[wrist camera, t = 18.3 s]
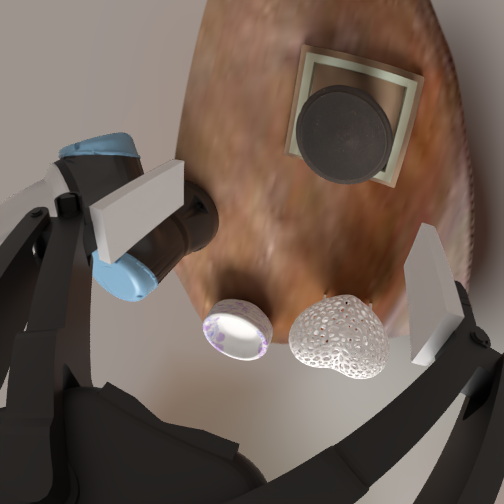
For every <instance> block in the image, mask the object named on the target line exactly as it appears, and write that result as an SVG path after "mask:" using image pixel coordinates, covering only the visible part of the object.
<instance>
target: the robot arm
mask: <svg viewBox="0 0 504 504" xmlns="http://www.w3.org/2000/svg"><path fill="white" fill-rule="evenodd" d="M59 158H60V160H58V161H56V162H54V163H52V164H50V166H49V168H48V170H47V173H46V175H45V177H44V178H43V179H42V180H40V181H38V182H36V183H34V184H33V185H31V186H29V187H27V188H25V189H24V190H22V191H20V192H18V193H16V194H15V195H13V196H11V197H9V198H8V199H6V200H4V201H3V202H1V203H0V389H1V387H2V385H3V383H4V380H5V377H6V375H7V372H8V370H9V367H10V370H9V379H8V388H7V400H6V407H3V408H0V504H354V503H355V502H356V501H358V500H359V499H360V498H361V497H362V496H364V495H365V494H366V493H367V492H368V491H369V487H370V486H371V485H372V484H373V483H374V482H376V481H377V480H378V479H379V478H380V477H382V476H383V475H384V474H385V473H386V472H387V471H388V470H389V469H391V467H393V466H394V465H395V464H396V463H397V462H398V461H399V460H400V459H401V458H402V457H403V456H404V455H405V454H406V453H407V452H408V451H409V450H410V449H411V448H412V447H413V446H414V445H415V444H416V443H417V442H418V441H419V440H420V439H421V438H422V437H423V436H424V435H425V434H426V433H427V432H428V431H429V429H430V428H431V427H432V426H433V425H434V424H435V423H436V421H437V420H438V419H439V418H440V417H441V416H442V414H443V413H444V412H445V411H446V410H447V408H448V407H449V406H450V405H451V403H452V402H453V401H454V400H455V398H456V397H457V396H458V394H459V393H460V392H461V393H463V394H465V395H466V397H465V400H464V403H463V405H462V408H461V410H460V413H459V415H458V418H457V420H456V423H455V425H454V428H453V430H452V432H451V435H450V437H449V439H448V441H447V443H446V445H445V447H444V449H443V451H442V454H441V455H440V457H439V459H438V461H437V463H436V465H435V467H434V469H433V471H432V472H431V474H430V476H429V478H428V480H427V481H426V483H425V485H424V486H423V488H422V490H421V492H420V493H419V495H418V496H417V498H416V500H415V501H414V503H413V504H494V502H495V500H496V497H497V495H498V492H499V490H500V487H501V484H502V481H503V478H504V353H503V354H500V353H499V352H497V351H495V350H494V349H492V348H490V346H491V343H490V339H489V337H488V336H487V334H486V333H485V332H484V330H482V329H481V328H480V327H478V326H476V322H475V319H474V316H473V312H472V308H471V307H470V306H471V305H470V302H469V300H468V295H467V292H466V290H465V289H464V287H463V286H462V284H461V283H460V282H458V281H455V280H454V279H453V276H452V273H451V270H450V267H449V264H448V261H447V258H446V255H445V252H444V249H443V247H442V244H441V241H440V239H439V236H438V234H437V231H436V229H435V227H434V226H431V225H428V224H425V223H422V224H421V226H420V229H419V231H418V234H417V236H416V239H415V241H414V243H413V246H412V248H411V250H410V253H409V255H408V257H407V259H406V262H405V264H404V273H405V281H406V290H407V300H408V311H409V325H410V342H411V362H412V363H415V364H419V365H424V366H428V365H429V364H430V362H431V361H432V360H433V359H434V357H435V362H434V363H433V364H432V365H431V366H430V367H429V368H428V369H427V370H426V371H425V372H424V373H423V374H421V375H420V376H419V377H418V378H417V379H416V380H415V381H414V382H413V383H412V384H411V385H410V386H409V387H408V388H407V389H405V390H404V391H403V392H402V393H401V394H400V395H399V396H398V397H396V398H395V399H394V400H393V401H392V402H391V403H389V404H388V405H387V406H386V407H385V408H383V409H382V410H381V411H380V412H379V413H377V414H376V415H375V416H374V417H372V418H371V419H370V420H369V421H367V422H366V423H365V424H363V425H362V426H361V427H359V428H358V429H357V430H355V431H354V432H353V433H352V434H350V435H349V436H347V437H346V438H344V439H343V440H342V441H340V442H339V443H337V444H335V445H334V446H330V447H329V448H327V449H325V450H324V451H322V452H320V453H319V454H317V455H316V456H314V457H312V458H311V459H309V460H308V461H306V462H304V463H303V464H301V465H299V466H297V467H296V468H294V469H293V470H291V471H289V472H287V473H285V474H283V475H282V476H280V477H278V478H276V479H274V480H272V481H270V482H268V483H267V481H266V479H265V478H264V476H263V474H262V473H261V472H260V470H259V469H258V468H257V467H256V466H255V465H254V464H253V463H252V462H251V461H250V460H249V459H247V458H246V457H245V456H244V455H242V454H241V453H239V452H238V448H239V444H238V443H235V442H232V441H230V440H227V439H224V438H221V437H219V436H217V435H214V434H211V433H209V432H207V431H204V430H200V429H194V428H189V427H184V426H179V425H174V424H169V423H165V422H163V421H161V420H160V419H159V418H157V417H156V416H155V415H154V414H152V412H150V411H149V410H148V409H147V408H146V407H145V406H144V405H143V404H142V403H141V402H139V401H138V400H137V399H136V398H135V397H133V396H131V395H130V394H128V393H126V392H124V391H123V390H121V389H119V388H117V387H116V386H114V385H112V384H111V383H109V382H107V383H106V384H105V385H104V387H103V388H97V387H93V384H92V380H91V366H90V305H91V304H90V303H91V286H92V275H93V277H94V278H95V279H96V281H97V282H98V283H99V284H100V285H101V286H102V287H103V288H104V289H105V290H107V291H108V292H110V293H111V294H113V295H114V296H116V297H118V298H120V299H123V300H126V301H139V300H141V299H143V298H144V297H146V296H147V295H148V294H149V293H150V292H151V291H152V290H154V289H156V287H157V286H158V284H159V283H160V282H161V281H162V279H163V278H164V277H165V276H166V275H167V274H168V273H169V272H170V271H171V270H172V269H173V268H174V267H175V266H176V264H177V263H178V262H179V261H180V260H181V259H182V258H183V257H184V256H186V255H188V254H190V253H192V252H195V251H199V250H201V249H203V248H204V247H206V246H207V245H208V244H209V243H210V242H211V241H212V239H213V238H214V237H215V235H216V233H217V230H218V223H219V221H218V214H217V210H216V207H215V205H214V203H213V201H212V200H211V198H210V197H209V195H208V194H207V193H206V192H205V191H204V190H203V189H202V188H200V187H199V186H197V185H196V184H194V183H192V182H189V181H186V180H184V161H181V160H176V159H172V160H170V161H168V162H166V163H165V164H162V165H160V166H159V167H157V168H155V169H153V170H151V171H149V172H147V173H146V174H144V172H143V169H142V165H141V162H140V156H139V155H138V153H137V151H136V148H135V145H134V142H133V139H132V138H131V136H130V135H128V134H126V133H113V134H107V135H103V136H99V137H94V138H91V139H87V140H84V141H81V142H78V143H75V144H72V145H69V146H66V147H64V148H62V149H61V150H60V151H59ZM34 251H35V254H34V255H33V252H34ZM27 322H28V323H27ZM26 324H27V329H26V331H24V329H25V326H26Z"/></svg>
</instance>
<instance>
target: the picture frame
mask: <svg viewBox="0 0 504 504" xmlns="http://www.w3.org/2000/svg"><path fill="white" fill-rule="evenodd" d="M424 79H425V77H423V76H420V75H417V74H414V73H412V72H409V71H406V70H403V69H400V68H397V67H394V66H391V65H388V64H385V63H381V62H378V61H375V60H371V59H367V58H364V57H360V56H356V55H352V54H348V53H344V52H339V51H335V50H330V49H325V48H320V47H315V46H309V45H304V44H302V49H301V55H300V61H299V67H298V73H297V79H296V85H295V91H294V97H293V103H292V109H291V115H290V120H289V126H288V132H287V138H286V143H285V149H284V154H283V155H286V156H290V157H294V158H298V159H301V160H304V159H303V157H302V156H301V153H300V151H299V148H298V145H297V140H296V122H297V118H298V115H299V113H300V112H301V109H302V106H303V105H304V103H305V102H306V101H307V99H308V98H309V97H310V96H311V95H313V94H314V93H315V92H317V91H318V90H320V89H322V88H325V87H328V86H332V85H346V86H350V87H354V88H358V89H361V90H364V91H365V92H367V93H368V94H370V95H371V96H372V97H373V98H374V100H375V101H376V102H377V103H378V104H379V105H380V106H381V108H382V109H383V110H384V112H385V113H386V115H387V117H388V119H389V122H390V124H391V128H392V133H393V146H392V151H391V155H390V157H389V159H388V161H387V163H386V165H385V166H384V167H383V169H382V170H381V171H380V172H379V173H378V174H376V175H375V176H374V177H372V178H370V179H369V180H372V181H375V182H378V183H381V184H384V185H387V186H390V187H393V188H395V185H396V182H397V179H398V176H399V173H400V169H401V166H402V163H403V160H404V156H405V153H406V150H407V146H408V143H409V139H410V136H411V132H412V129H413V125H414V121H415V117H416V113H417V109H418V105H419V101H420V97H421V92H422V88H423V83H424Z"/></svg>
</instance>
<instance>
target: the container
mask: <svg viewBox="0 0 504 504" xmlns="http://www.w3.org/2000/svg"><path fill="white" fill-rule="evenodd" d="M296 140H297V145H298V148H299V151H300V153H301V156H302V157H303V159H304V161H305V162H306V164H307V165H308V166H309V167H310V168H311V169H312V170H313V171H314V172H315V173H316V174H318V175H319V176H321V177H322V178H324V179H326V180H329V181H331V182H335V183H339V184H356V183H361V182H364V181H366V180H369V179H370V178H372V177H374V176H375V175H376V174H378V173H379V172H380V171H381V170H382V169H383V167H384V166H385V165H386V163H387V161H388V159H389V157H390V155H391V151H392V146H393V133H392V128H391V124H390V122H389V119H388V117H387V115H386V113H385V112H384V110H383V109H382V108H381V106H380V105H379V104H378V103H377V102H376V101H375V100H374V98H373V97H372V96H371V95H370V94H368V93H367V92H365V91H364V90H361V89H358V88H354V87H350V86H346V85H332V86H328V87H325V88H322V89H320V90H318V91H317V92H315V93H314V94H313V95H311V96H310V97H309V98H308V99H307V101H306V102H305V103H304V105H303V106H302V109H301V112H300V113H299V115H298V118H297V122H296Z"/></svg>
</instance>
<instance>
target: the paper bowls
mask: <svg viewBox="0 0 504 504" xmlns="http://www.w3.org/2000/svg"><path fill="white" fill-rule="evenodd" d="M203 331H204V334H205V336H206V338H207V340H208V341H209V342H210V343H211V344H212V345H213V346H214V347H215V348H216V349H217V350H219V351H220V352H222V353H223V354H225V355H228V356H230V357H232V358H235V359H240V360H254V359H257V358H260V357H261V356H263V355H264V354H265V353H266V351H267V349H268V346H269V344H270V341H271V338H272V336H273V328H272V325H271V322H270V321H269V319H268V317H267V316H266V315H265V314H264V313H263V312H262V311H261V310H260V309H259V308H258V307H257V306H256V305H254V304H252V303H250V302H247V301H244V300H237V299H226V300H221V301H219V302H217V303H216V304H215V305H214V306H213V307H212V309H211V310H210V311H209V313H208V315H207V316H206V318H205V319H204V322H203Z"/></svg>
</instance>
